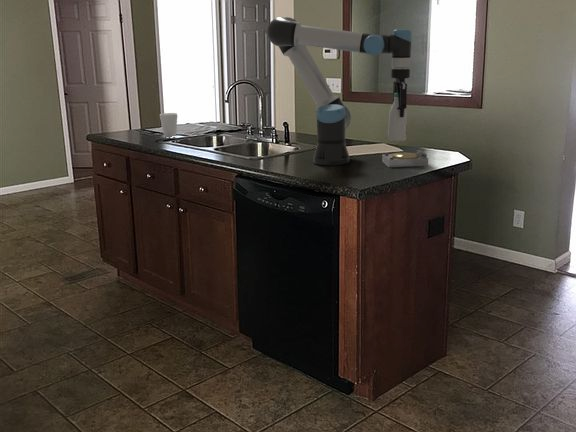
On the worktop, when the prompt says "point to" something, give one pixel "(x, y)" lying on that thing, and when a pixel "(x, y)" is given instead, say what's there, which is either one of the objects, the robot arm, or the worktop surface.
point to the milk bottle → (396, 130)
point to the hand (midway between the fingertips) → (398, 123)
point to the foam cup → (169, 124)
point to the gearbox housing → (405, 159)
